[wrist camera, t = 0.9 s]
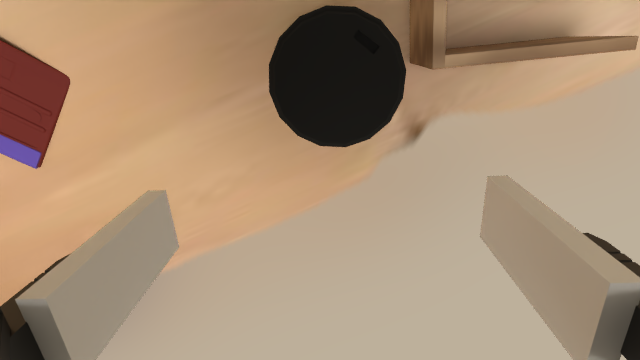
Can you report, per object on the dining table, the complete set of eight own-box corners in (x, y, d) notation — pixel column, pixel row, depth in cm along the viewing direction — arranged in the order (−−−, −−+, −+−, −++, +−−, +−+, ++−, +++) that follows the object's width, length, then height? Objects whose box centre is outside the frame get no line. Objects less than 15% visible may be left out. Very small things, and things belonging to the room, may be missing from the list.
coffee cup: (324, -10, 35) (321, -33, 24) (407, 58, 37) (439, 66, 26) (265, 81, 39) (239, 98, 28) (344, 138, 41) (349, 176, 30)
